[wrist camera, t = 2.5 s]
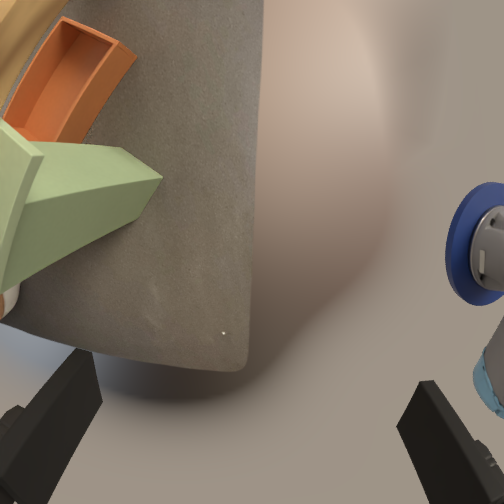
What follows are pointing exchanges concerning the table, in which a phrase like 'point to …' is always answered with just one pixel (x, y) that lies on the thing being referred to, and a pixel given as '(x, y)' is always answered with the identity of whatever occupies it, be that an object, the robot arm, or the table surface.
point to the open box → (67, 84)
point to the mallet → (22, 35)
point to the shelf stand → (62, 199)
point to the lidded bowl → (8, 300)
